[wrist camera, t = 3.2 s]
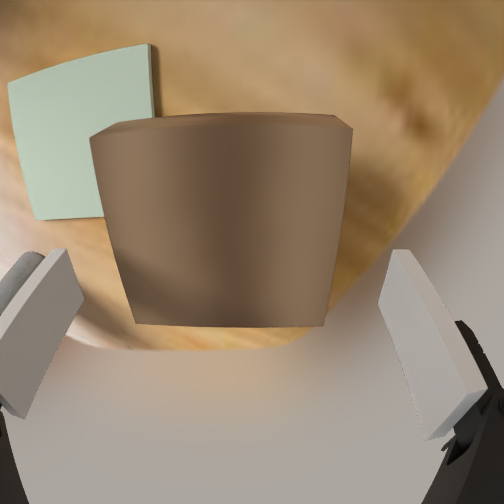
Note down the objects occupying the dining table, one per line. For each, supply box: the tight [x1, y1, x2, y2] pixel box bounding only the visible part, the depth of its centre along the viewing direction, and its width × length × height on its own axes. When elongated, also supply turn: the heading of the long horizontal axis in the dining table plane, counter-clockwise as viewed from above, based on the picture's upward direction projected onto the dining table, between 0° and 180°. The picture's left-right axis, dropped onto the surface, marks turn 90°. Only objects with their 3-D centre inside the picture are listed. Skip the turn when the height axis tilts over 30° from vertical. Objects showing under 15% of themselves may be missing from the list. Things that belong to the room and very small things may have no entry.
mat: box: [7, 44, 155, 220], centre depth 18 cm, size 11×11×1 cm
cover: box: [89, 112, 353, 328], centre depth 15 cm, size 10×10×3 cm
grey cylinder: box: [0, 252, 45, 314], centre depth 20 cm, size 4×4×10 cm
